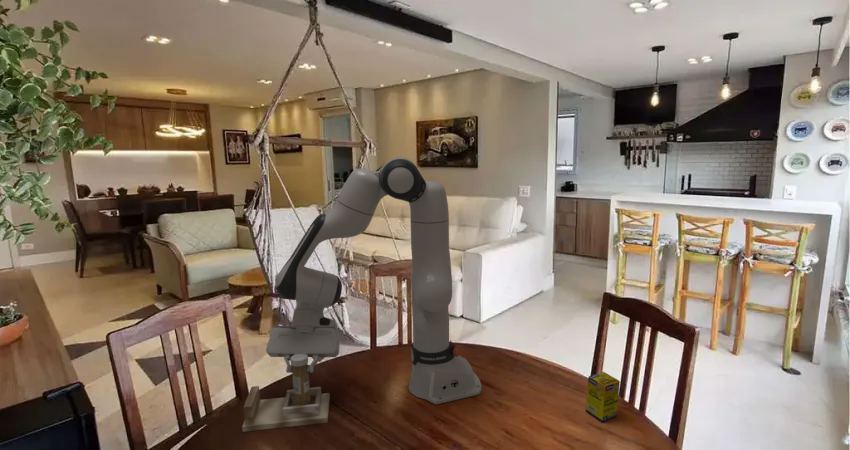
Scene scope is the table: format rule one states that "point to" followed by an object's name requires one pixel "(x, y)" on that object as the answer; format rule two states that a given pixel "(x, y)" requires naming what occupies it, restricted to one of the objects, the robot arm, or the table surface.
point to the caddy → (284, 410)
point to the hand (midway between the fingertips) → (299, 372)
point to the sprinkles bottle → (300, 378)
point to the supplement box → (602, 396)
